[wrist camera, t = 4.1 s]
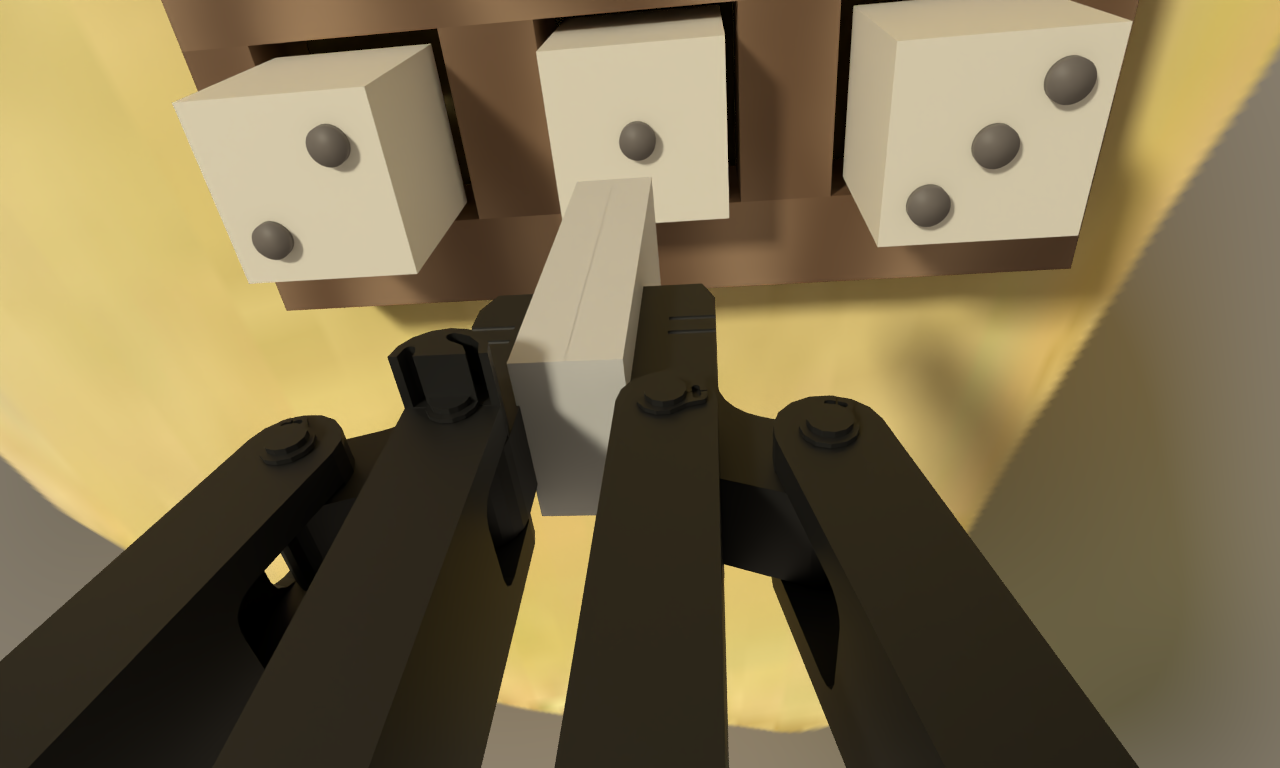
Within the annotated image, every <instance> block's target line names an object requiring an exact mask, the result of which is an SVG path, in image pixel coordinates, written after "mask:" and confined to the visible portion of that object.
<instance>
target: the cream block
mask: <svg viewBox="0 0 1280 768" xmlns="http://www.w3.org/2000/svg"><path fill="white" fill-rule="evenodd" d="M536 55H537V62H538V68H539V75H540V81H541V87H542V94H543V100H544V106H545V113H546V119H547V126H548V132H549V138H550V145H551V151H552V157H553V164H554V170H555V177H556V183H557V189H558V196H559V202H560V208H561V215H562V220H563V217H564V214H565V212H566V209H567V207H568V204H569V201H570V199H571V196H572V194H573V191H574V189H575V186H576V183H577V182H580V181H595V180H610V179H626V178H641V177H652V186H653V198H654V210H655V222H656V223H662V222H678V221H694V220H710V219H726V218H729V185H728V145H727V104H726V64H725V34H724V29H723V23H722V18H721V13H720V8H719V5H710V6H699V7H688V8H677V9H666V10H656V11H645V12H634V13H623V14H612V15H601V16H590V17H579V18H569V19H565V20H564V21H563V22H562V23H561V25H560V26H559V27H558V28H557V29H556V30H555V31H554V32H553V33H552V35H551V36H550V37H549V38H548V39H547V40H546V41H545V42H544V43H543V45H542V46H541V47H540V48H539V49H538V50H537V51H536Z"/></svg>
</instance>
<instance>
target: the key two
mask: <svg viewBox="0 0 1280 768" xmlns="http://www.w3.org/2000/svg"><path fill="white" fill-rule="evenodd" d="M172 104H173V106H174V109H175V111H176V113H177V116H178V118H179V120H180V123H181V125H182V127H183V130H184V132H185V134H186V137H187V139H188V141H189V144H190V146H191V149H192V151H193V153H194V156H195V158H196V160H197V163H198V165H199V167H200V170H201V172H202V174H203V177H204V179H205V181H206V184H207V186H208V188H209V191H210V193H211V195H212V198H213V200H214V202H215V205H216V207H217V209H218V212H219V214H220V217H221V219H222V221H223V224H224V226H225V228H226V231H227V233H228V235H229V238H230V240H231V242H232V245H233V247H234V249H235V252H236V254H237V256H238V259H239V261H240V263H241V266H242V268H243V270H244V273H245V275H246V277H247V280H248V282H249V284H252V283H269V282H286V281H303V280H321V279H338V278H355V277H372V276H389V275H407V274H418V272H419V271H420V269H421V268H422V267H423V265H424V264H425V262H426V261H427V259H428V258H429V256H430V255H431V254H432V252H433V251H434V249H435V248H436V246H437V245H438V243H439V242H440V241H441V239H442V238H443V236H444V235H445V233H446V232H447V231H448V229H449V228H450V226H451V225H452V223H453V222H454V220H455V219H456V218H457V216H458V215H459V213H460V212H461V210H462V209H463V208H464V206H465V205H466V203H467V198H466V194H465V190H464V185H463V181H462V177H461V172H460V168H459V163H458V159H457V155H456V150H455V146H454V142H453V137H452V133H451V129H450V124H449V120H448V115H447V111H446V107H445V102H444V98H443V94H442V89H441V85H440V80H439V76H438V72H437V67H436V63H435V59H434V54H433V50H432V46H431V44H423V45H411V46H400V47H389V48H378V49H367V50H356V51H345V52H334V53H323V54H312V55H301V56H289V57H278V58H274V59H272V60H269V61H267V62H265V63H262V64H260V65H258V66H255V67H253V68H251V69H249V70H246V71H244V72H242V73H239V74H237V75H235V76H232V77H230V78H228V79H226V80H223V81H221V82H219V83H216V84H214V85H212V86H209V87H207V88H205V89H203V90H200V91H198V92H196V93H193V94H191V95H189V96H186V97H184V98H182V99H180V100H177V101H175V102H173V103H172Z"/></svg>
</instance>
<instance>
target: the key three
mask: <svg viewBox="0 0 1280 768" xmlns="http://www.w3.org/2000/svg"><path fill="white" fill-rule="evenodd" d="M1132 22H1133V21H1131V20H1128V19H1125V18H1122V17H1119V16H1116V15H1113V14H1110V13H1107V12H1104V11H1101V10H1098V9H1095V8H1092V7H1089V6H1086V5H1083V4H1080V3H1077V2H1074V1H1071V0H910V1H899V2H888V3H877V4H866V5H855V6H854V8H853V23H852V39H851V55H850V71H849V87H848V103H847V119H846V134H845V150H844V166H843V178H844V180H845V182H846V184H847V186H848V188H849V190H850V192H851V194H852V196H853V198H854V200H855V202H856V204H857V206H858V208H859V210H860V212H861V214H862V216H863V218H864V220H865V222H866V224H867V226H868V228H869V231H870V233H871V235H872V237H873V239H874V241H875V243H876V245H877V247H889V246H906V245H923V244H940V243H958V242H975V241H992V240H1009V239H1027V238H1044V237H1061V236H1078V234H1079V230H1080V226H1081V222H1082V219H1083V215H1084V211H1085V207H1086V203H1087V199H1088V195H1089V191H1090V187H1091V183H1092V179H1093V175H1094V171H1095V168H1096V164H1097V160H1098V156H1099V152H1100V148H1101V144H1102V140H1103V136H1104V132H1105V128H1106V124H1107V120H1108V116H1109V113H1110V109H1111V105H1112V101H1113V97H1114V93H1115V89H1116V85H1117V81H1118V77H1119V73H1120V69H1121V65H1122V62H1123V58H1124V54H1125V50H1126V46H1127V42H1128V38H1129V34H1130V30H1131V26H1132Z"/></svg>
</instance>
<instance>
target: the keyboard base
mask: <svg viewBox="0 0 1280 768" xmlns="http://www.w3.org/2000/svg"><path fill="white" fill-rule="evenodd" d="M161 1H162V3H163V6H164V8H165V11H166V13H167V16H168V18H169V21H170V23H171V26H172V28H173V31H174V33H175V36H176V38H177V40H178V43H179V45H180V48H181V50H182V53H183V55H184V58H185V60H186V63H187V65H188V68H189V70H190V73H191V75H192V78H193V80H194V83H195V85H196V87H197V90H198V91H200V90H203V89H205V88H207V87H209V86H212V85H214V84H216V83H219V82H221V81H223V80H226V79H228V78H230V77H232V76H235V75H237V74H239V73H242V72H244V71H246V70H249V69H251V68H253V67H255V66H258V65H260V64H262V63H265V62H267V61H269V60H272V59H274V58H278V57H289V56H301V55H310V52H309V49H308V46H307V43H306V40H316V39H327V38H338V37H349V36H360V35H371V34H381V33H392V32H403V31H414V30H425V29H436V28H437V30H438V35H439V39H440V44H441V48H442V53H443V57H444V62H445V66H446V71H447V75H448V80H449V84H450V89H451V93H452V98H453V102H454V107H455V111H456V116H457V120H458V125H459V129H460V134H461V138H462V143H463V147H464V152H465V156H466V161H467V165H468V170H469V174H470V179H471V183H472V184H469V185H464V190H465V194H466V198H467V203H466V205H465V206H464V208H463V209H462V210H461V212H460V213H459V215H458V216H457V218H456V219H455V220H454V222H453V223H452V225H451V226H450V228H449V229H448V231H447V232H446V233H445V235H444V236H443V238H442V239H441V241H440V242H439V243H438V245H437V246H436V248H435V249H434V251H433V252H432V254H431V255H430V256H429V258H428V259H427V261H426V262H425V264H424V265H423V267H422V268H421V269H420V271H419V272H418V274H407V275H389V276H372V277H355V278H338V279H321V280H303V281H286V282H275V283H276V285H277V288H278V290H279V293H280V295H281V298H282V300H283V303H284V305H285V308H286V310H287V311H290V310H308V309H327V308H345V307H364V306H383V305H401V304H420V303H438V302H457V301H475V300H494V299H495V298H497V297H498V296H503V295H523V294H534V292H535V289H536V287H537V284H538V281H539V279H540V276H541V274H542V271H543V269H544V266H545V263H546V261H547V258H548V256H549V253H550V250H551V248H552V245H553V243H554V240H555V238H556V235H557V232H558V230H559V227H560V225H561V222H562V215H561V208H560V202H559V196H558V189H557V183H556V177H555V170H554V164H553V157H552V151H551V145H550V138H549V132H548V126H547V119H546V113H545V106H544V100H543V94H542V87H541V81H540V75H539V68H538V62H537V55H536V51H537V50H538V49H539V48H540V47H541V46H542V45H543V43H544V42H545V41H546V40H547V39H548V38H549V37H550V36H551V35H552V33H553V32H554V31H555V30H556V23H555V17H566V16H577V15H587V14H598V13H609V12H620V11H631V10H642V9H652V8H663V7H674V6H685V5H696V4H707V3H718V2H728V1H733V49H734V102H735V155H736V166H728V185H729V218H726V219H710V220H694V221H678V222H662V223H656V234H657V245H658V257H659V269H660V281H661V285H680V284H700V283H702V284H703V285H704V286H705V287H706V288H717V287H735V286H754V285H772V284H791V283H809V282H828V281H846V280H865V279H883V278H902V277H921V276H939V275H958V274H976V273H995V272H1013V271H1032V270H1050V269H1069V268H1071V265H1072V261H1073V257H1074V253H1075V249H1076V245H1077V241H1078V238H1079V234H1080V230H1081V226H1082V222H1083V219H1082V222H1081V226H1080V230H1079V234H1078V236H1061V237H1044V238H1027V239H1009V240H992V241H975V242H958V243H940V244H923V245H906V246H889V247H877V245H876V243H875V241H874V239H873V237H872V235H871V233H870V231H869V228H868V226H867V224H866V222H865V220H864V218H863V216H862V214H861V212H860V210H859V208H858V206H857V204H856V202H855V200H854V198H853V196H852V194H851V192H850V190H849V188H848V186H847V184H846V182H845V180H844V178H843V166H844V158H840V159H832V158H833V140H834V121H835V103H836V84H837V66H838V48H839V29H840V11H841V0H161ZM1071 1H1074V2H1077V3H1080V4H1083V5H1086V6H1089V7H1092V8H1095V9H1098V10H1101V11H1104V12H1107V13H1110V14H1113V15H1116V16H1119V17H1122V18H1125V19H1128V20H1131V21H1133V22H1134V18H1135V14H1136V10H1137V7H1138V3H1139V0H1071ZM1133 22H1132V26H1133ZM1132 26H1131V30H1132ZM1131 30H1130V34H1131ZM1130 34H1129V38H1130ZM1129 38H1128V42H1129ZM1128 42H1127V46H1128ZM1127 46H1126V50H1127ZM1126 50H1125V53H1126ZM1124 57H1125V54H1124ZM1123 61H1124V58H1123ZM1122 65H1123V62H1122ZM1122 65H1121V69H1122ZM1121 69H1120V73H1121ZM1120 73H1119V77H1120ZM1119 77H1118V81H1119ZM1118 81H1117V85H1118ZM1117 85H1116V89H1117ZM1116 89H1115V93H1116ZM1115 93H1114V97H1115ZM1114 97H1113V100H1114ZM1112 104H1113V101H1112ZM1111 108H1112V105H1111ZM1110 112H1111V109H1110ZM1109 116H1110V113H1109ZM1109 116H1108V120H1109ZM1108 120H1107V124H1108ZM1107 124H1106V128H1107ZM1106 128H1105V132H1106ZM1105 132H1104V136H1105ZM1104 136H1103V140H1104ZM1103 140H1102V144H1103ZM1102 144H1101V147H1102ZM1100 151H1101V148H1100ZM1099 155H1100V152H1099ZM1098 159H1099V156H1098ZM1097 163H1098V160H1097ZM1096 167H1097V164H1096ZM1095 171H1096V168H1095ZM1095 171H1094V175H1095ZM1094 175H1093V179H1094ZM1093 179H1092V183H1093ZM1092 183H1091V187H1092ZM1091 187H1090V191H1091ZM1090 191H1089V194H1090ZM1088 198H1089V195H1088ZM1087 202H1088V199H1087ZM1086 206H1087V203H1086ZM1085 210H1086V207H1085ZM1084 214H1085V211H1084ZM1083 218H1084V215H1083Z"/></svg>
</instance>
